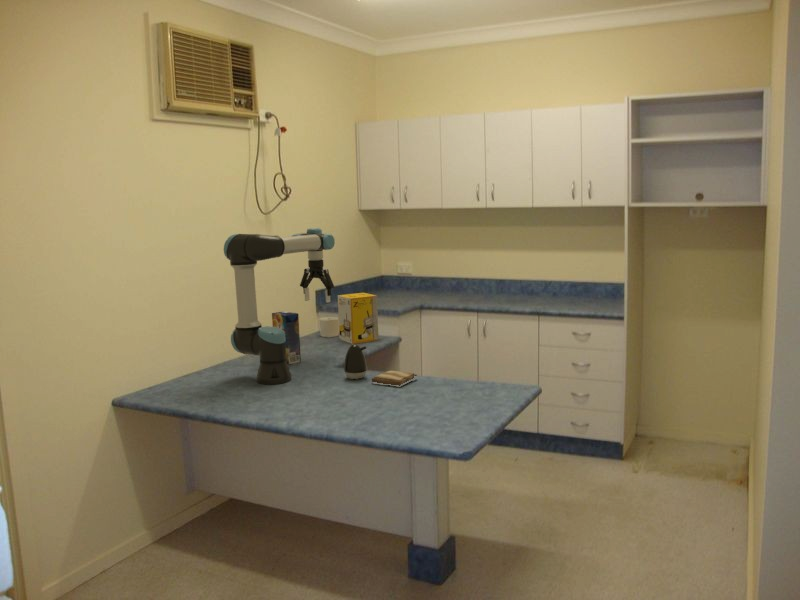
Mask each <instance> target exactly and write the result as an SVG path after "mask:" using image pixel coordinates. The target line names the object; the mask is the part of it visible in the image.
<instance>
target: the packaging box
mask: <svg viewBox="0 0 800 600" xmlns="http://www.w3.org/2000/svg"><path fill="white" fill-rule="evenodd" d="M337 310H338V311H337V312H338V324H339V335H338V336H339V337H338V338H339V340H340V341H344V342H345V343H346V342H347V343H348V344H352V345H354V344H355V345H356V344H361V343H368V342H369V343H370V342H374V341H379V321H378V320H379V318H378V317H379V316H378V315H379V313H378V312H379V311H378V310H379V309H378V295H376V294H370V293H366V292H358V293H345V294H340V295H339V294H338V295H337Z"/></svg>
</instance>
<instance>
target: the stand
mask: <svg viewBox="0 0 800 600" xmlns="http://www.w3.org/2000/svg"><path fill="white" fill-rule="evenodd" d="M414 376H417V377H418V375H417V374H416V373H413V372H408V371H407V372H405V371H399V370H398V371H397V370H391V369H390V370H387V371H385V372H382V373H380V374H378V375H376V376H374V377H372V378H371V383H372V382H377V383H383V384H391V385H399V386H400V385H401V384H403V383H405V382H407V381H409V380H411V379H413V378H414Z"/></svg>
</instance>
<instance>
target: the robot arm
mask: <svg viewBox="0 0 800 600" xmlns="http://www.w3.org/2000/svg"><path fill="white" fill-rule="evenodd" d="M334 247H335V237H334V236H333V235H332V234H331V233H323V230H322V229H321V228H320V227H314V228H311V227H310V228H307V229H306V233H305V232H304V233H303V232H302V233H296V234H295V233H294V234H293V235H290V236H282V237H281V236H279V235H268V234H260V233H259V234H258V233H256V234H255V233H250V234H249V233H235V234H231V235H230V236H228V237H227V239H226V240H225V242H224V244H223V255H224V256H225V257H226V259H227V260H229V263H230V264H229V265H230V267H232V269H233V271H234V283H235V295H236V307H237V308H236V311H237V323H236V324H235V325H234V326H235V327H234V329H233V330H232V333H231V335H230V344H231V346H232V348H233V349H234V351H236V352H238V353H239V354H243V355H252V356H259V367H258V371H257V375H256V382H257V383H258V384H261V385H262V384H263V385H277V384H278V385H279V384H284V383H287V382H290V381H291V380H292V373H291V372H290V369H289V364H287V361H286V338H285V332H284V330H283V329H281V328H278V327H273V326H263V325H262V322H261V321H259V320H258V319H259V318H258V308H257V307H258V305H257V294H256V293H257V291H256V278H255V277H256V276H255V267H256V266H257V265H258V262H259V261H265V260H270V259H275V258H280V257H282V256H283V255H287V254H294V253H295V254H296V253H297V254H298V253H304V252H307V259H308V261H307V265H308V267H307V268H304V269H303V275H302V278H301V281H300V283H299V286H300V287H302V288H303V295H304V301H305V302H309V301H310V288H309V285H310V283H312V281H313V279H318V280H320V281H321V282H322V284H323V286H324V287H325V303H331V296H332V289H333V288H335V285H334V282H333V280H332V278H331V275H330V272H329V269H324V251H328V250H332V249H333V248H334Z"/></svg>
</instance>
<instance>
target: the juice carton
mask: <svg viewBox="0 0 800 600" xmlns="http://www.w3.org/2000/svg"><path fill="white" fill-rule="evenodd" d="M299 318H300V317H299V313H298V312H292V311H286V310H283V311H277V312H272V313H271V319H272V320H271V321H272V327H278V328H281V329H283V330H284V332H285V338H286V361H287V365H292V364H296V363H301V361H302V360H301V359H302V358H301V341H300V340H301V339H300V337H301V335H300V321H299V320H300V319H299Z"/></svg>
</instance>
